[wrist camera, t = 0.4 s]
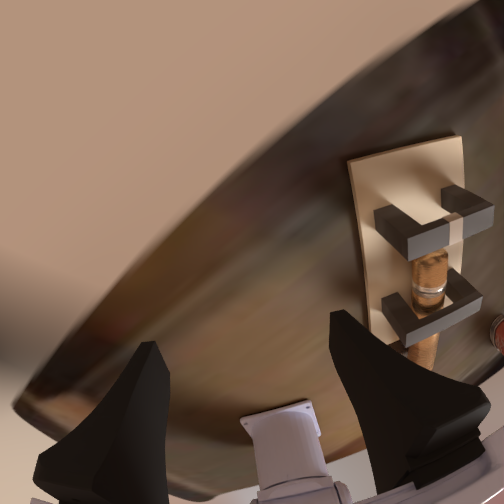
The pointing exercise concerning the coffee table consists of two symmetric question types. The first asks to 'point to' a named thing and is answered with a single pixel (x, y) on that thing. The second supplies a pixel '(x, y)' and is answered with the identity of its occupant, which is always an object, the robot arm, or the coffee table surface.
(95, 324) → the coffee table surface
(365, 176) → the board
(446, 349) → the coffee table surface
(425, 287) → the tube
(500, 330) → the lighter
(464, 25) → the coffee table surface
